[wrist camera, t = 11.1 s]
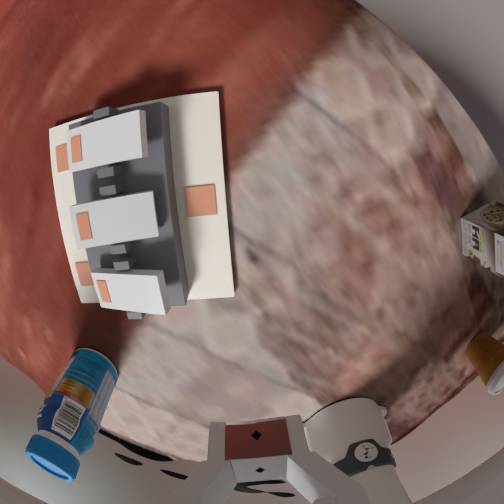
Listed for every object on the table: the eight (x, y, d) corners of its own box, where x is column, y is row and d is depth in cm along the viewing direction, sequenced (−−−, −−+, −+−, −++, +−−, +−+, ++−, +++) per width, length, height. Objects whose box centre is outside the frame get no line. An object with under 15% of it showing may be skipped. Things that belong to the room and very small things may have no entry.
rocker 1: (148, 156, 21) (141, 157, 20) (76, 171, 22) (68, 173, 21) (145, 111, 20) (138, 109, 19) (73, 131, 20) (65, 131, 19)
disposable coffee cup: (486, 348, 42) (515, 379, 31) (457, 369, 42) (485, 405, 31) (493, 316, 39) (528, 347, 27) (463, 338, 39) (498, 375, 28)
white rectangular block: (170, 308, 26) (165, 315, 24) (107, 301, 27) (100, 307, 26) (162, 270, 24) (156, 276, 23) (97, 267, 26) (90, 272, 24)
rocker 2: (159, 232, 25) (158, 236, 24) (81, 245, 23) (77, 250, 22) (153, 189, 23) (152, 191, 22) (73, 204, 22) (68, 207, 20)
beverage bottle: (129, 383, 37) (95, 491, 18) (90, 386, 37) (51, 479, 18) (101, 341, 34) (45, 453, 15) (63, 348, 34) (7, 441, 16)
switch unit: (234, 292, 32) (234, 322, 26) (84, 299, 32) (63, 324, 26) (218, 93, 25) (214, 77, 19) (53, 129, 24) (22, 128, 18)
